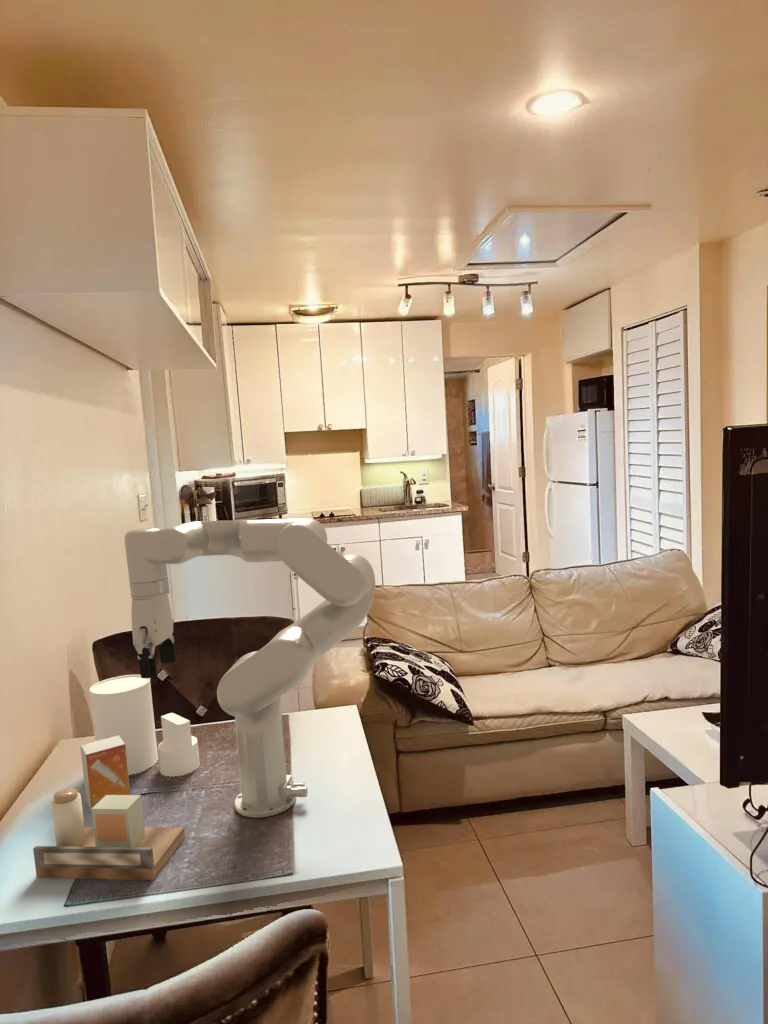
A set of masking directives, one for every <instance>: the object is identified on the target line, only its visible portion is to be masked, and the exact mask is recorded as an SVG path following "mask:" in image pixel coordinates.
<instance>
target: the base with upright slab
mask: <svg viewBox="0 0 768 1024" xmlns="http://www.w3.org/2000/svg"><path fill="white" fill-rule="evenodd" d="M160 720H161V721H160V722H161V729H162V741H161V742H160V743H159V744H158V746H157V753H158V762H159V763H158V764H159V771H160V772H159V773H160V775H161V776H164V777H167V776H169V777H168V778H175V777H174V776H177V777H182V776H186V775H189V774H191V773H193V772H195V771H196V770H198V769H199V768H200V765H201V763H200V753H199V743H198V738H197V737H196V736H193V735H192V728H191V720H189V719H188V718H185V717H182V716H181V715H179V714H176V713H174V712H169V713H166V714H164V715H163V714H162V715H161V716H160ZM194 770H195V771H194ZM188 773H189V774H188ZM185 774H186V775H185ZM181 775H182V776H181ZM171 776H172V777H171Z"/></svg>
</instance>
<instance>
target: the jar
mask: <svg viewBox="0 0 768 1024" xmlns="http://www.w3.org/2000/svg"><path fill="white" fill-rule="evenodd" d="M50 804H51V811H52V812H51V813H52V821H53V827H54V838H55V845H56V846H70V847H82V846H83V845H84V844H85V842H86V837H85V828H84V827H85V821H84V820H85V819H84V811H83V804H82V796H81V793H80V792H78V789H77V788H76V787H67V788H63V789H61V790H59V791H56V792H55V793H54V795H53V799H52V800H51V802H50Z"/></svg>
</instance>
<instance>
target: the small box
mask: <svg viewBox="0 0 768 1024" xmlns="http://www.w3.org/2000/svg"><path fill="white" fill-rule="evenodd" d="M80 756H81V764H82V775H83V783H84V792H85V801H86V802H85V803H86V805H87V806H88V809H89V811H90V812H91V814H92V810H91V809H92V808H93V807H94V806H95V805H96V804H97V803H98V802H99V801H100V800H101V799H102V798H104V797H105V796H106V795H131V790H130V789H131V788H130V780H129V776H128V767H127V757H126V747H125V743H124V742H123V740H122V739H121V737H120V736H119V735H118V736H114V737H111V738H107V739H102V740H98V741H95V740H94V741H93V742H88V743H85V744H81V745H80Z"/></svg>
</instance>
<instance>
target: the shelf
mask: <svg viewBox="0 0 768 1024" xmlns="http://www.w3.org/2000/svg"><path fill="white" fill-rule="evenodd" d="M84 828H85V837H86V842H85V844H84V845H83V846H82V847H70V846H52V845H50V846H49V845H43V846H42V845H36V846H34V847H33V848H32V850H33V858H34V867H35V876H36V879H77V878H78V879H79V880H80V879H81V878H82V880H87V879H88V880H129V881H131V880H135V881H136V880H137V881H139V880H141V881H144V880H145V881H147V880H148V881H153V880H155V879H156V877H157V876H158V875H159V873H160V872H161V870H163V868H164V867H165V865H166V864H167V863H168V861H169V860H170V859H171V857H172V856H173V855H174V853H175V852H176V850H177V849H178V847H180V846H181V844H182V842H183V841H184V839H185V838H186V833H185V827H169V826H168V827H163V826H162V827H156V826H154V827H151V826H147V827H146V826H144V830H145V836H144V838H143V839H142V840H141V841H140V842H139V843H138V845H137V846H136V847H96V846H95V837H94V828H93V826H84ZM84 878H85V879H84ZM90 878H91V879H90ZM104 878H105V879H104Z"/></svg>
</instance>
